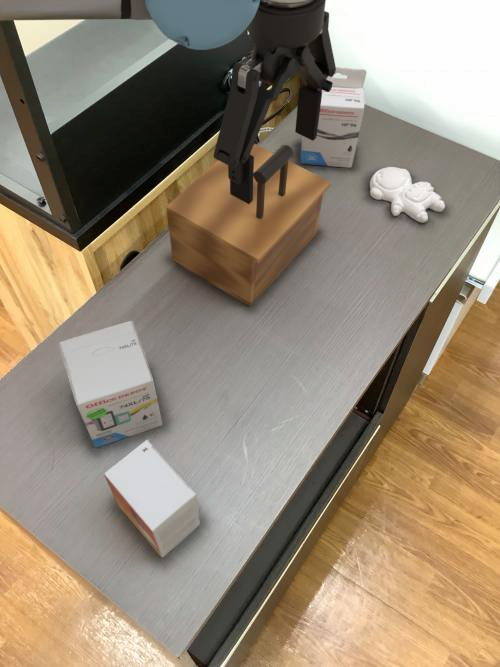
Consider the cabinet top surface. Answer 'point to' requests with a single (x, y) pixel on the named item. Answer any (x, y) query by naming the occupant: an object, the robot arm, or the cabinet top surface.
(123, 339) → the ink box
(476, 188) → the cabinet top surface
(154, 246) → the cabinet top surface
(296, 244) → the chest
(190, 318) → the cabinet top surface
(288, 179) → the lid
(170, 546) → the small box
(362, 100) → the ink box
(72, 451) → the cabinet top surface
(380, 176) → the astronaut figurine
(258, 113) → the robot arm
